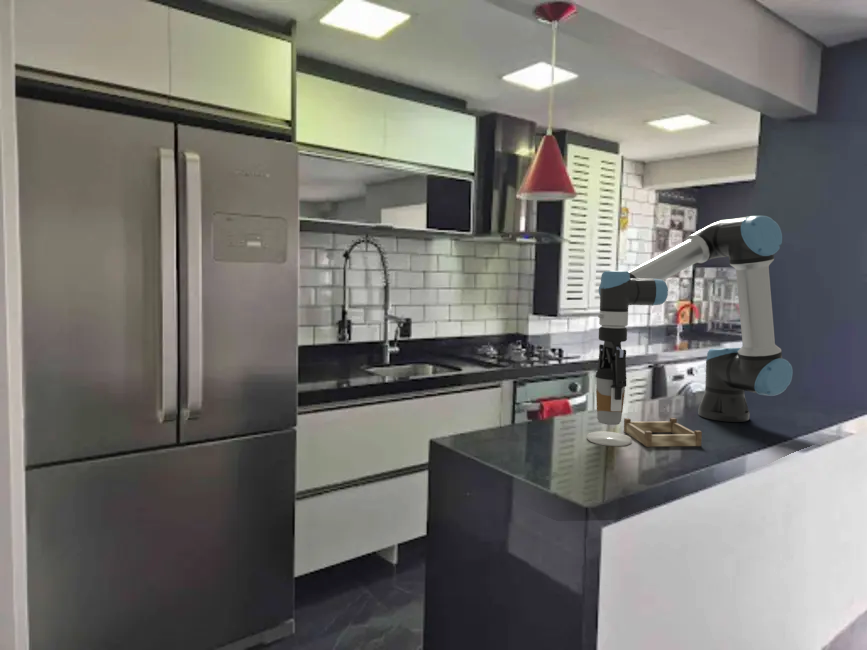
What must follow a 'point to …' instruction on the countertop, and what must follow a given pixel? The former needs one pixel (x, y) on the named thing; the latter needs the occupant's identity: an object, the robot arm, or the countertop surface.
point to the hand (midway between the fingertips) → (609, 407)
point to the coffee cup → (606, 398)
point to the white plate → (609, 438)
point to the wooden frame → (679, 438)
